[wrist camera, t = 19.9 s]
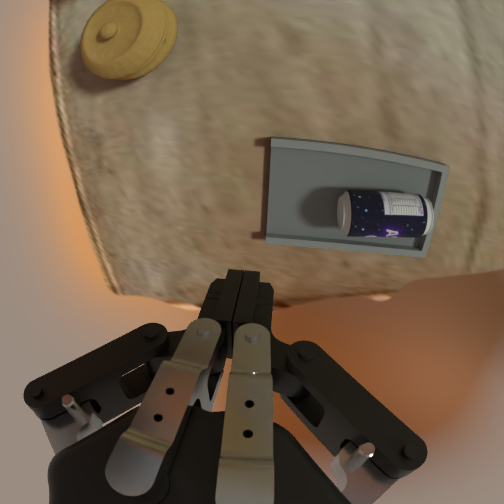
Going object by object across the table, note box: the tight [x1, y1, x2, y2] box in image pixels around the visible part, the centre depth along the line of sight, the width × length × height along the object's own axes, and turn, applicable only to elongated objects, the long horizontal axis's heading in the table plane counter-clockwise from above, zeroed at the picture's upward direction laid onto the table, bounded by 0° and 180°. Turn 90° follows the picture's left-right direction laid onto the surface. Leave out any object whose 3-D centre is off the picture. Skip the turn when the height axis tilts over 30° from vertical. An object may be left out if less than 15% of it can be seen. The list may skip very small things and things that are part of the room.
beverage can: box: [337, 190, 434, 238], centre depth 33 cm, size 6×6×12 cm
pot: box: [80, 0, 178, 80], centre depth 23 cm, size 12×12×10 cm
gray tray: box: [265, 137, 449, 258], centre depth 35 cm, size 24×14×2 cm, turn 88°
